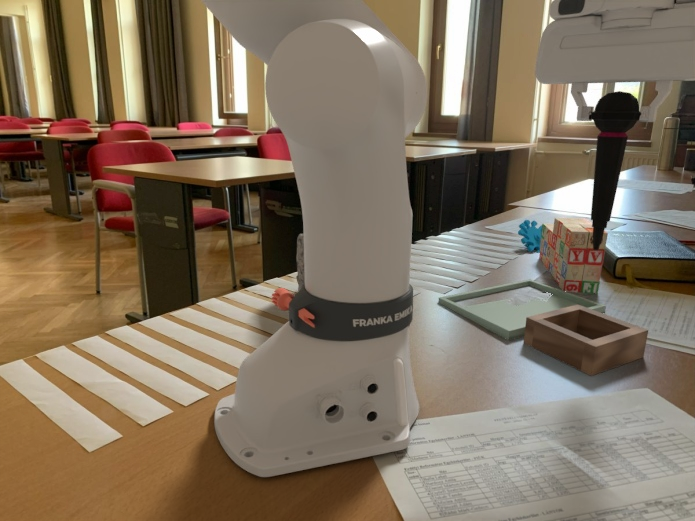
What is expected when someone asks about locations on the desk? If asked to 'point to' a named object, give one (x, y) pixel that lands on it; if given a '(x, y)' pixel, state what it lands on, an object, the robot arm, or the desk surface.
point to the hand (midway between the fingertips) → (614, 121)
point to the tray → (514, 307)
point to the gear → (530, 235)
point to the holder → (585, 338)
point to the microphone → (610, 154)
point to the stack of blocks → (572, 254)
